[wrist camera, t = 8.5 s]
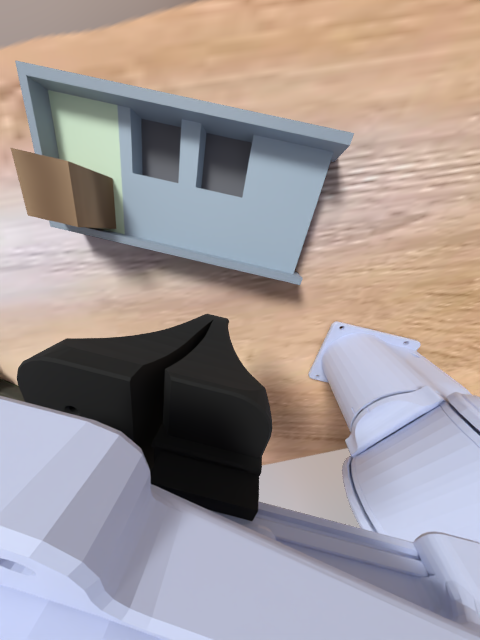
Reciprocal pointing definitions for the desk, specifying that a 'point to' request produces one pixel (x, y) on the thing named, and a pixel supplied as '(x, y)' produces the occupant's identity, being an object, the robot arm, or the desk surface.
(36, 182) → the block
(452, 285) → the desk surface
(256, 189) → the box
